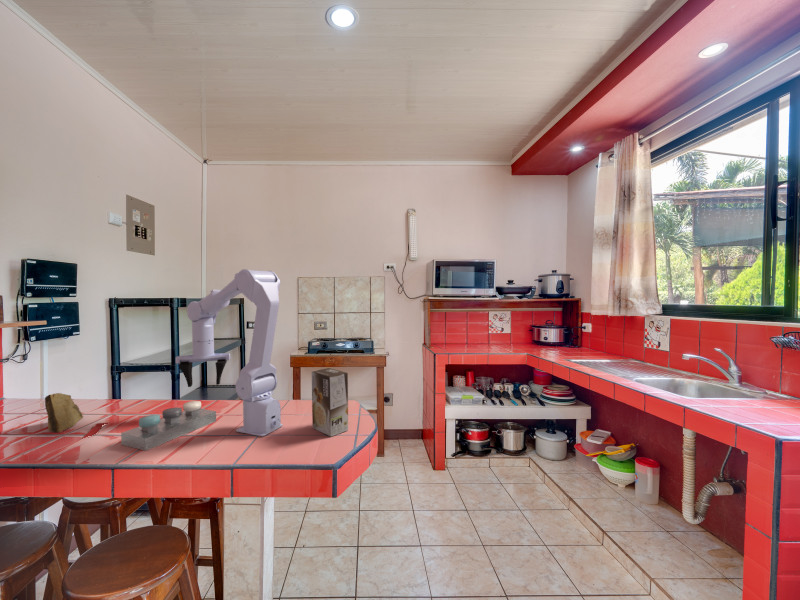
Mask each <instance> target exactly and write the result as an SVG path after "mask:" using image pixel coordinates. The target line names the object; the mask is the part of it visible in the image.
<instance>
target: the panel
mask: <svg viewBox="0 0 800 600" xmlns="http://www.w3.org/2000/svg"><path fill="white" fill-rule="evenodd" d="M215 422H217V411H215V410H211V409H205V408H200V409H199V414H196V415H194V416H187V415H186V411H184V410H183V411H182V415H181V416H180V421H177V422H175V423H172V424H169V423H165V419H164V418H163V417H162V418H160V423H159V424H158V429H156V430H153V431H151V432H148V433H147V432H143V431H142V427H139V426H138V427H134V428H132V429H128V430H125V431H124V432H121V435H120V436H121V437H120V438H121V439H120V440H121V441H120V443H121V444H122V445H121V446H124V445H125V447H128V448H132V447H133V448H134V449H137V448H138V449H137V450H142V451H144V452H145V451H149V450H151V449H153V447H154V448H156V447H158V446H160V445H162V444H165V443H168V442H171V441H173V440H175V439H178V438H179V437H181V436H184V435H187V434H189V433H191V432H194V431H196V430H199V429H201V428H204V427H205V426H207V425H210V424H213V423H215ZM172 439H173V440H172ZM167 441H168V442H167ZM148 449H149V450H148Z"/></svg>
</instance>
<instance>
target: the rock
mask: <svg viewBox="0 0 800 600" xmlns="http://www.w3.org/2000/svg"><path fill="white" fill-rule="evenodd" d="M44 408H45V412H46V414H47V428H48V431H49V432H52V433H59V432H60V433H62V432H61V431H63V430H64V431H65V429H66V430H68V429H70V428H72V427H73V426H75V425H76V424H77V423H78V422H79V421H81V420H82V419H83V418H84V415H83V413H82V411H81V410H80V408H79V406H78V404H76V403H75V402H74V400H73V399H72V396H71V395H69V394H66V393H62V392H57V393H56V392H55V393H52V394H48V395H46V396H45V397H44ZM69 427H70V428H69ZM67 428H68V429H67ZM64 431H63V432H64Z"/></svg>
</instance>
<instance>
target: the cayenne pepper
mask: <svg viewBox="0 0 800 600" xmlns="http://www.w3.org/2000/svg"><path fill="white" fill-rule="evenodd" d="M108 423H109V422H99V423H98V422H97V423H96V424H95V425H94V426H92V427H91V428H90V430H89V431H88V432H87V433H86V434H85V435H84V436H83V437H81V438H80V440H84V439H87V438H86V437H88V436H91V437H93V436H95V435H97V434H98V433H99V432H100V431H99V430H102V428H103V427H102V425H104V424H107V425H109V424H108ZM101 427H102V428H101ZM98 431H99V432H98ZM97 432H98V433H97ZM96 433H97V434H96ZM94 434H95V435H94ZM92 435H93V436H92ZM83 438H84V439H83ZM88 438H89V437H88Z"/></svg>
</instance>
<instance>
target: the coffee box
mask: <svg viewBox="0 0 800 600" xmlns="http://www.w3.org/2000/svg"><path fill="white" fill-rule="evenodd" d="M348 375H349V373H348V372H345V371H343V370H338V369H334V368H330V367H328V368H327V367H326V368H321V369H318V370H315V371H311V409H312V410H311V413H312V414H311V416H312V420H311V422H312V423H311V424H312V429H314V430H315V431H318V432H320V433H323V434H324V435H326V436H328V437H334V436H336V435H339V434H342V433H344V432H347V431H349V377H348Z"/></svg>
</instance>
